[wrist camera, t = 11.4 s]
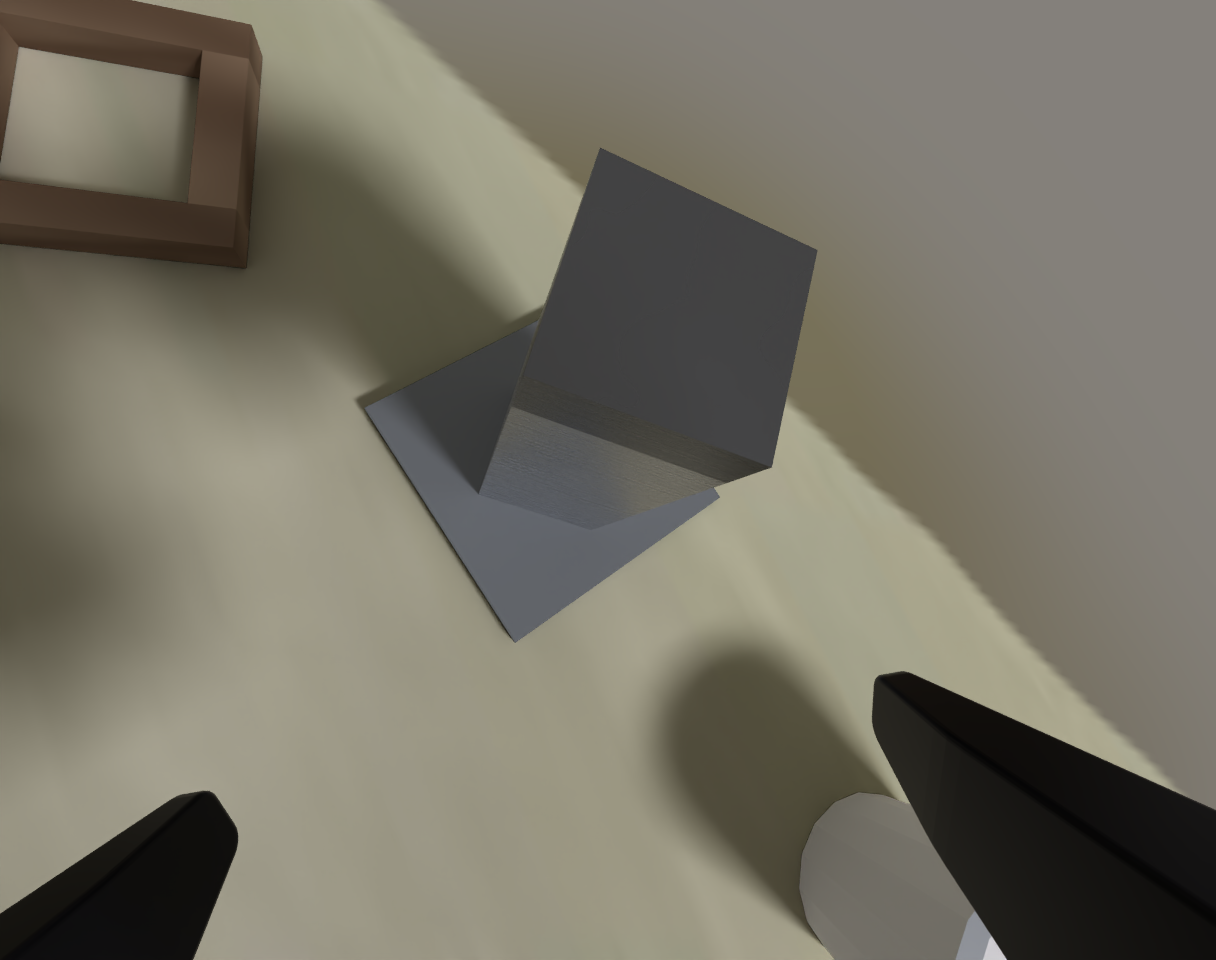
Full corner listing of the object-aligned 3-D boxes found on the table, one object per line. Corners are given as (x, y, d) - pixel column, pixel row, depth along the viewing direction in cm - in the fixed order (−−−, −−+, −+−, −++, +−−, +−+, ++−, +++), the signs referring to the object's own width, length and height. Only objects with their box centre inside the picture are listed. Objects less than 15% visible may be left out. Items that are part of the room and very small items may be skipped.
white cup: (811, 750, 21) (979, 828, 14) (957, 803, 22) (1172, 898, 16) (760, 957, 19) (925, 1155, 13) (921, 1003, 21) (1148, 1204, 14)
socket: (246, 268, 18) (233, 247, 17) (-70, 236, 16) (-108, 210, 15) (262, 56, 20) (251, 24, 19) (-28, 1, 18) (-61, -40, 17)
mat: (513, 641, 19) (515, 642, 18) (366, 411, 19) (364, 407, 18) (714, 499, 22) (719, 497, 21) (587, 300, 22) (589, 294, 21)
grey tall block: (590, 530, 20) (771, 467, 9) (478, 494, 19) (523, 375, 8) (620, 424, 21) (817, 250, 10) (515, 386, 20) (600, 147, 9)
